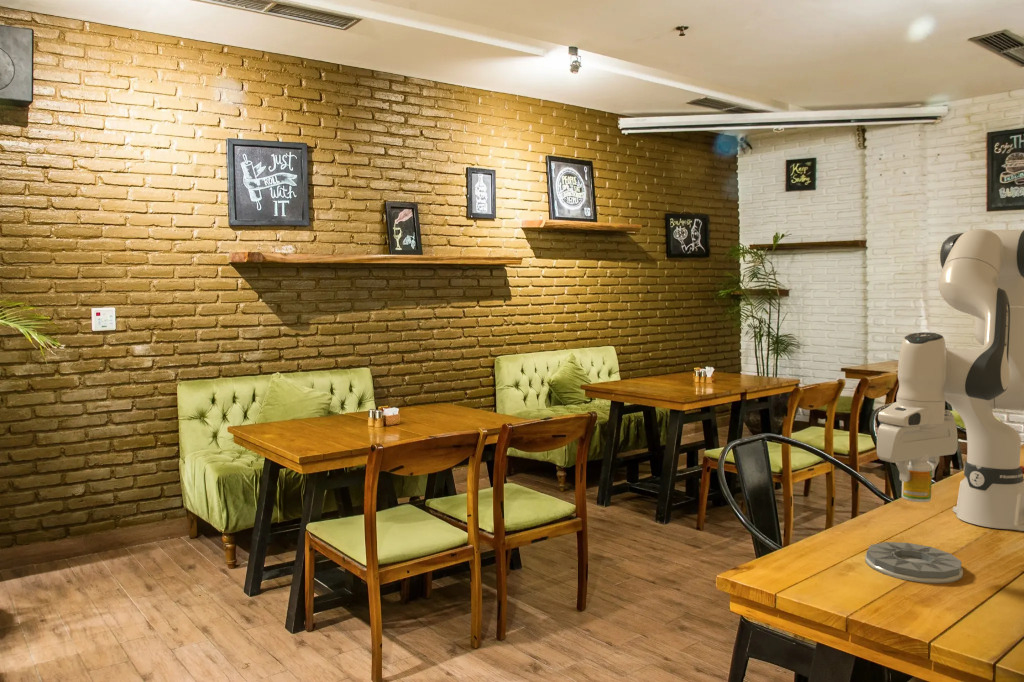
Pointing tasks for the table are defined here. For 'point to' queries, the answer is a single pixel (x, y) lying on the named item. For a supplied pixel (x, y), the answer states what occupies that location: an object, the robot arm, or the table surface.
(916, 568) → the grey faceted round plate
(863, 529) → the table surface
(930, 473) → the supplement bottle
